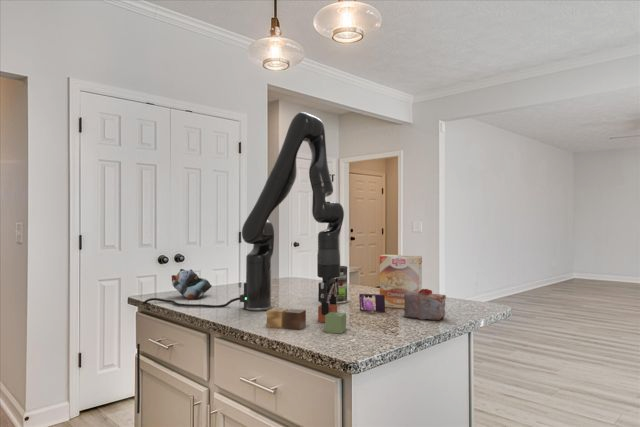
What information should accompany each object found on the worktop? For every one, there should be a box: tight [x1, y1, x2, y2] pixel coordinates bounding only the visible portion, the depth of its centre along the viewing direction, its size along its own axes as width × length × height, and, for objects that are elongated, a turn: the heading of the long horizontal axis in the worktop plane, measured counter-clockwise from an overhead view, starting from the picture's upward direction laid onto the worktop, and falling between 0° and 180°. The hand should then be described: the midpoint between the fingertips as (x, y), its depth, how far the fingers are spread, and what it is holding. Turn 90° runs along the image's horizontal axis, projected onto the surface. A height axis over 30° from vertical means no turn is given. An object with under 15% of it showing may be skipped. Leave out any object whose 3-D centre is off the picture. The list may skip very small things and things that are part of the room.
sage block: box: [324, 311, 347, 334], centre depth 133 cm, size 5×5×5 cm
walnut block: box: [284, 308, 307, 331], centre depth 137 cm, size 5×5×5 cm
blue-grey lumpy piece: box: [170, 268, 213, 300], centre depth 190 cm, size 15×12×14 cm
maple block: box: [266, 307, 289, 329], centre depth 139 cm, size 5×5×5 cm
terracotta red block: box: [317, 303, 338, 323], centre depth 146 cm, size 5×5×5 cm
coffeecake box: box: [379, 254, 423, 310], centre depth 170 cm, size 15×7×20 cm, turn 68°
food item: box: [404, 288, 447, 321], centre depth 151 cm, size 14×8×10 cm, turn 62°
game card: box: [358, 293, 386, 314], centre depth 159 cm, size 7×5×9 cm
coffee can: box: [321, 265, 348, 305], centre depth 181 cm, size 10×10×14 cm
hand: (329, 312), depth 146 cm, fingers open, 8 cm apart
